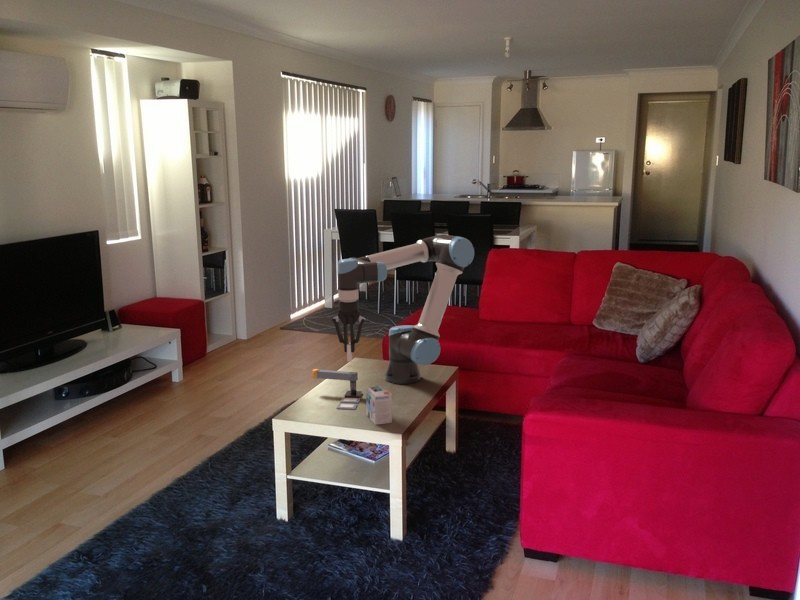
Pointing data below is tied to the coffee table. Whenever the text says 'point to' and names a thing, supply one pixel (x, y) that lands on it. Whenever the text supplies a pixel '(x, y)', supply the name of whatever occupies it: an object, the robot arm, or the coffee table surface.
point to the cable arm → (335, 375)
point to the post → (353, 391)
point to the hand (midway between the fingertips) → (349, 360)
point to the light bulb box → (379, 405)
